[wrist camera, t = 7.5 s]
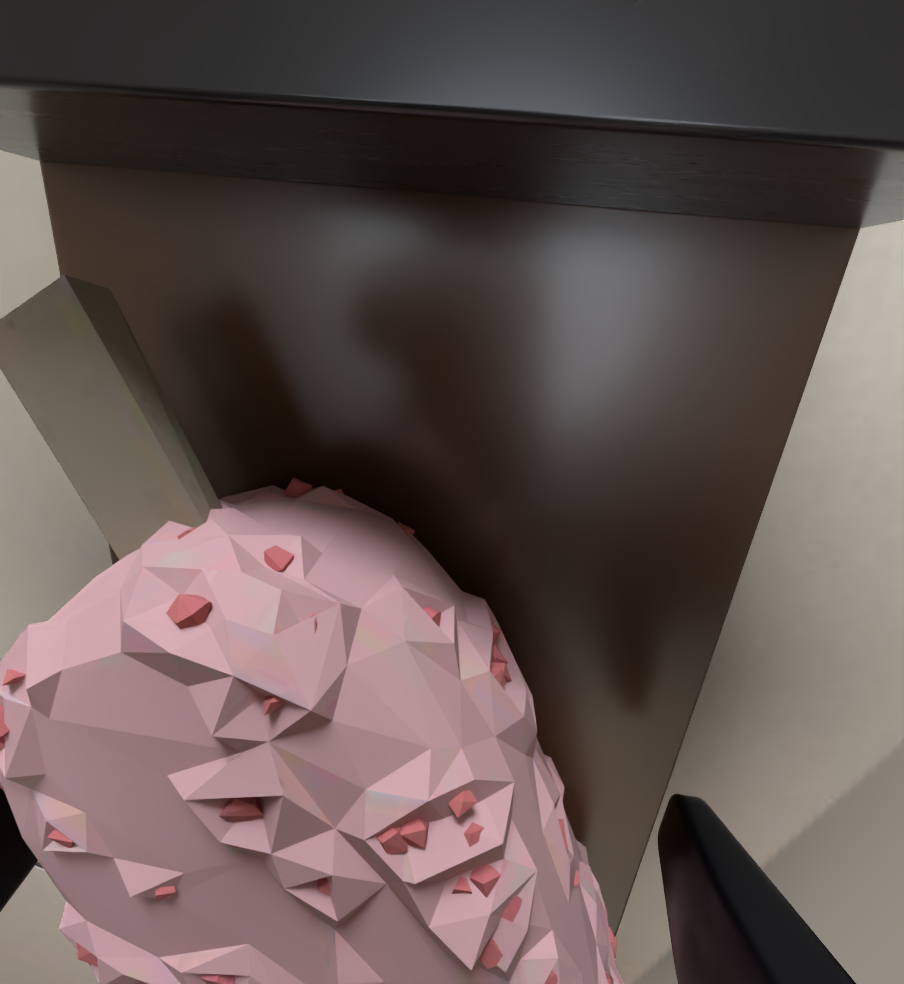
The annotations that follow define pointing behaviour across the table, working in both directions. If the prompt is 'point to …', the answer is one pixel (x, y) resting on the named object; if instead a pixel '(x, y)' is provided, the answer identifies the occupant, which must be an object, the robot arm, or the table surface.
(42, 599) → the table surface
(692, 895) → the robot arm
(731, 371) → the shelf
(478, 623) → the ice cream bar
